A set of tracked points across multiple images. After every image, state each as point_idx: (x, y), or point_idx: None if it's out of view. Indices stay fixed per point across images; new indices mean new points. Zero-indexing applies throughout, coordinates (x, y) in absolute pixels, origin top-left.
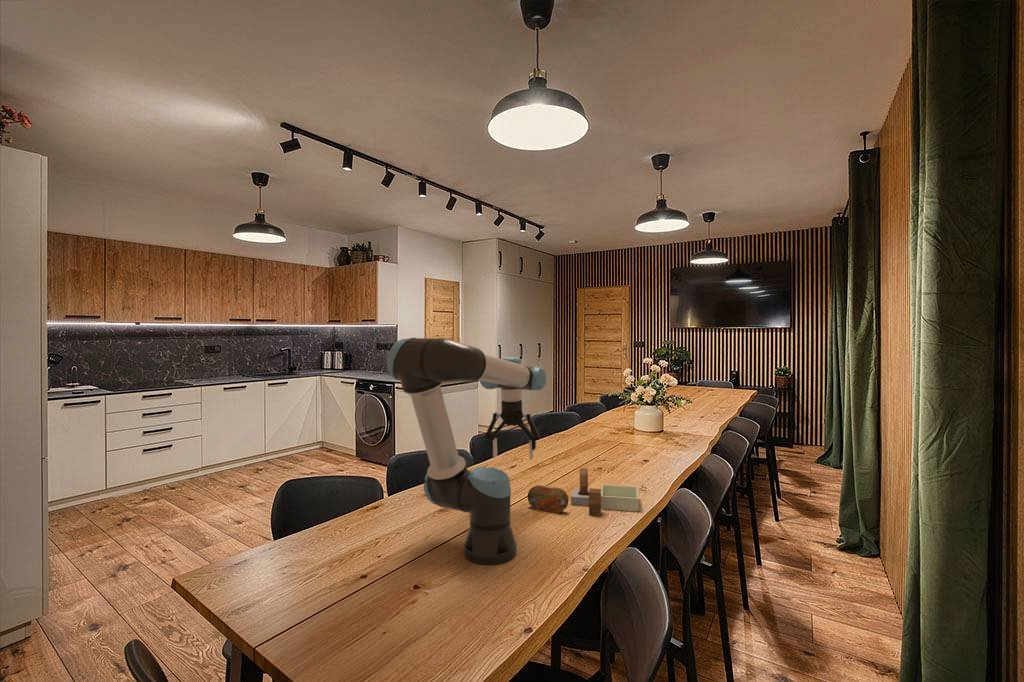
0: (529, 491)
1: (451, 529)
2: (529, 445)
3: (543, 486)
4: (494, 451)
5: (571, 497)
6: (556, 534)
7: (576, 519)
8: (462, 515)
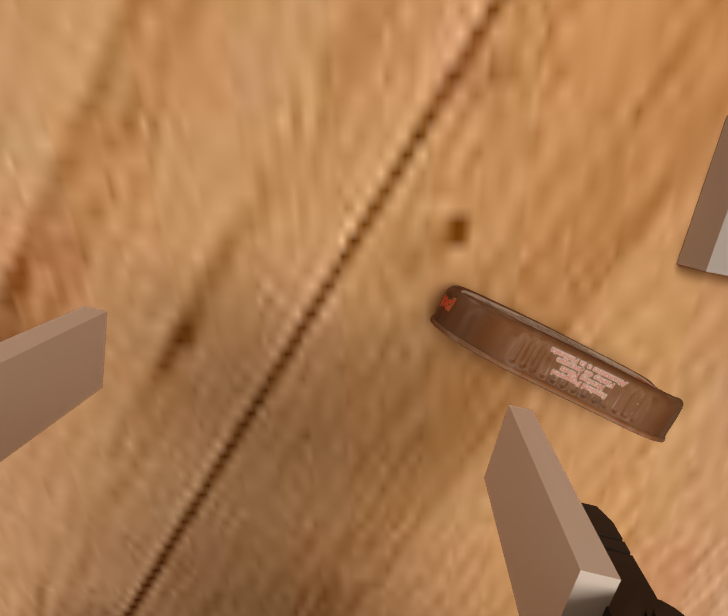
0: (444, 327)
1: (108, 539)
2: (520, 613)
3: (547, 361)
4: (47, 422)
5: (707, 270)
6: None
7: (656, 454)
8: (114, 403)
